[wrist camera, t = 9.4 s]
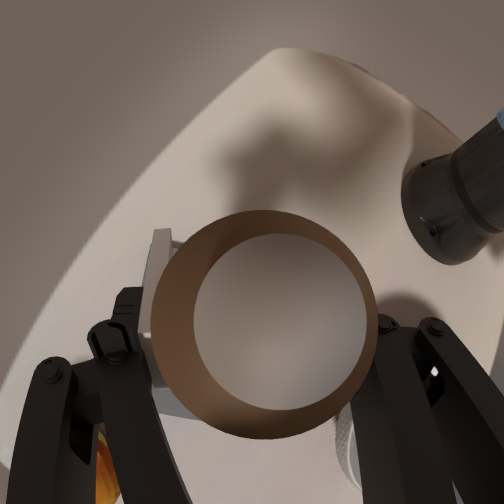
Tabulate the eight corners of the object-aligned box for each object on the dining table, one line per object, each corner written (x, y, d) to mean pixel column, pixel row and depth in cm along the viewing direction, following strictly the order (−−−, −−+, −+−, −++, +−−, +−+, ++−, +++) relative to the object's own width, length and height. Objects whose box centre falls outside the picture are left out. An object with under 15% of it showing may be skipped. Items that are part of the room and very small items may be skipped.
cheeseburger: (30, 391, 24) (-1, 412, 15) (123, 413, 28) (125, 445, 19) (32, 470, 21) (10, 510, 12) (120, 489, 24) (125, 537, 16)
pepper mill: (277, 297, 18) (404, 220, 6) (265, 383, 16) (384, 451, 5) (190, 281, 17) (176, 167, 6) (175, 369, 16) (123, 432, 4)
